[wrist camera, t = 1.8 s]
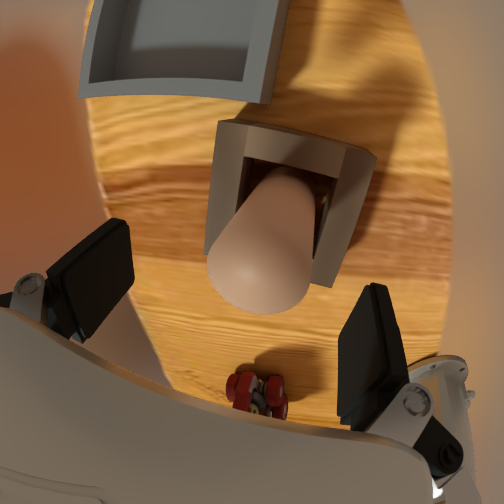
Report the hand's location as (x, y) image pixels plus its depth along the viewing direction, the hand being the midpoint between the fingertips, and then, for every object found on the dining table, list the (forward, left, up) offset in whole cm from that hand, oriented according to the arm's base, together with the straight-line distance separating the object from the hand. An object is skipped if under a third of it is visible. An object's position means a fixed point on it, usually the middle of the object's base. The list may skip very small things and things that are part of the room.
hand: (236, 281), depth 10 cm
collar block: (-1, 0, -12) cm, 12 cm away
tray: (+9, -14, -12) cm, 21 cm away
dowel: (-1, 0, -12) cm, 12 cm away
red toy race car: (-4, +27, -13) cm, 30 cm away
